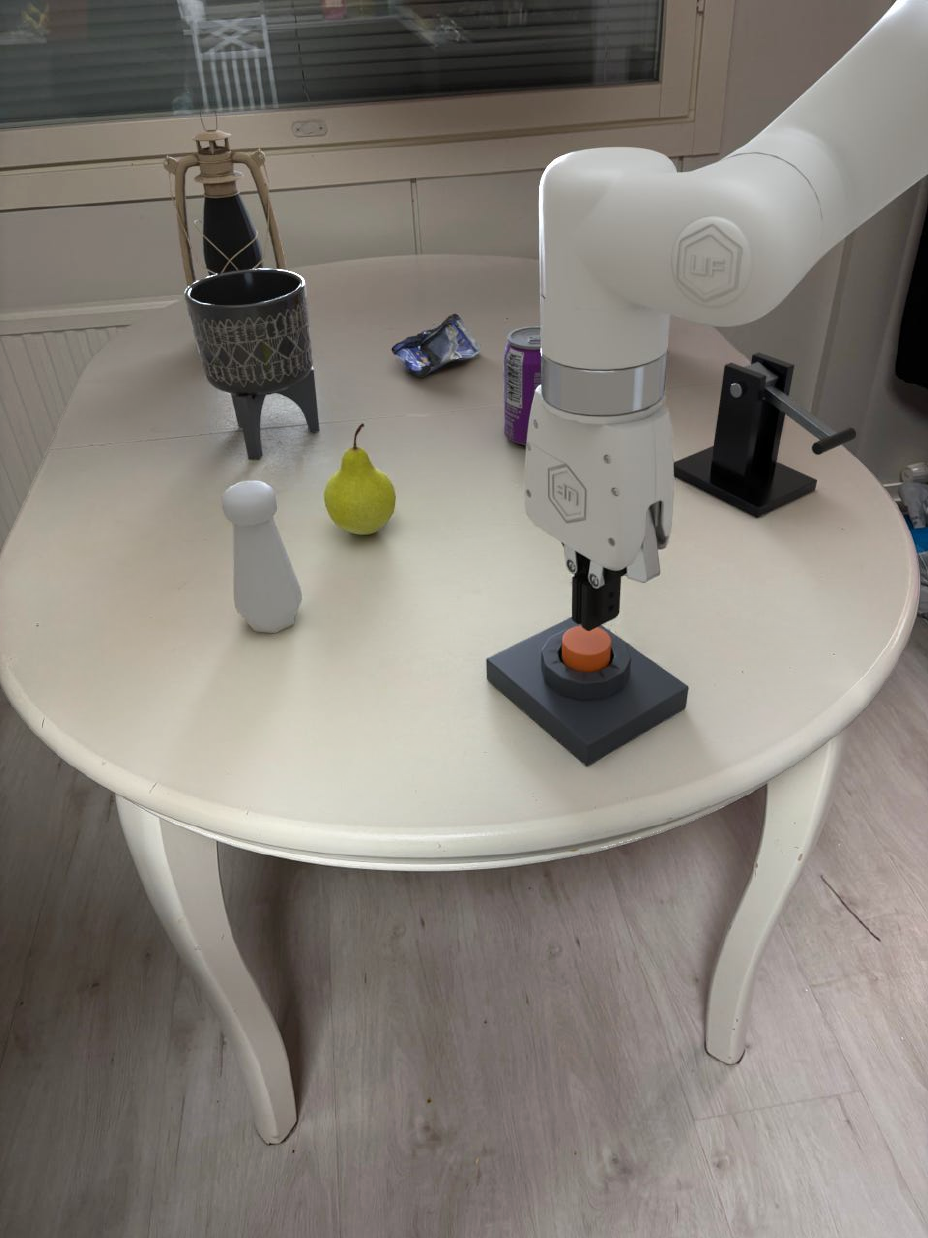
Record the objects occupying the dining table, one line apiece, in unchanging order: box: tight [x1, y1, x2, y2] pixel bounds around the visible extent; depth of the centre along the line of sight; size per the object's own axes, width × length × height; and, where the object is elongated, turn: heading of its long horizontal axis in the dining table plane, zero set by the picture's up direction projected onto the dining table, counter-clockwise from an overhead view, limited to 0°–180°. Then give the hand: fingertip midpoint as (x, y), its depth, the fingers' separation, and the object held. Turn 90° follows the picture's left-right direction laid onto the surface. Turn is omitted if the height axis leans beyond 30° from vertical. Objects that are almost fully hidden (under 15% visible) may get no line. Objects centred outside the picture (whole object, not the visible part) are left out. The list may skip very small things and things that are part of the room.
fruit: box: [323, 422, 397, 536], centre depth 89 cm, size 7×7×12 cm
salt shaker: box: [221, 480, 303, 634], centre depth 77 cm, size 6×6×13 cm
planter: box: [183, 268, 320, 461], centre depth 105 cm, size 13×13×18 cm
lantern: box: [162, 106, 288, 288], centre depth 130 cm, size 14×12×30 cm
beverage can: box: [502, 325, 541, 447], centre depth 104 cm, size 7×7×12 cm
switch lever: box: [744, 362, 857, 456], centre depth 88 cm, size 12×5×2 cm, turn 35°
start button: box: [562, 626, 611, 673], centre depth 69 cm, size 4×4×2 cm
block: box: [485, 616, 690, 767], centre depth 71 cm, size 12×10×4 cm
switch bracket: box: [674, 352, 818, 519], centre depth 93 cm, size 12×9×13 cm
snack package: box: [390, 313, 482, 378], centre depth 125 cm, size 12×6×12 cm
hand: (595, 618), depth 67 cm, fingers closed
